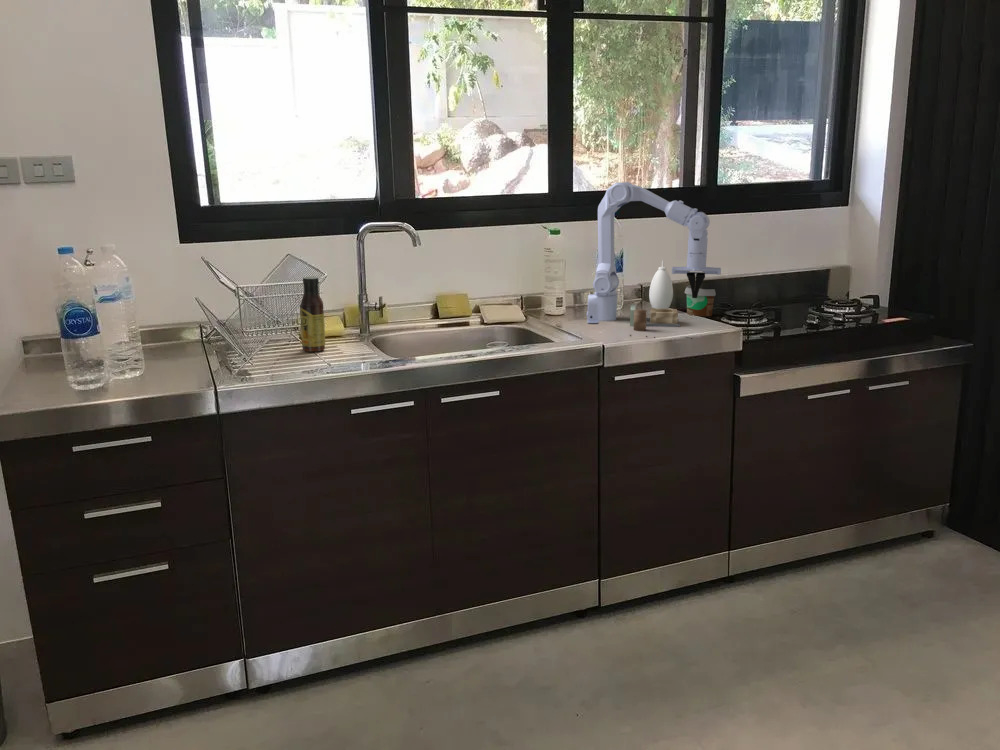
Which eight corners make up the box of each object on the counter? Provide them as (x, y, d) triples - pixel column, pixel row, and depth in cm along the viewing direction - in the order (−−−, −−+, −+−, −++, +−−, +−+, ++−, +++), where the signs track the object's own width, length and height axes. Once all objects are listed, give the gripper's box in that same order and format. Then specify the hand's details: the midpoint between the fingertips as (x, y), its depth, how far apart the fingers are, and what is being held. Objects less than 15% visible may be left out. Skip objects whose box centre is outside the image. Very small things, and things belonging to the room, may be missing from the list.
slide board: (629, 329, 254) (630, 310, 253) (630, 322, 266) (630, 304, 264) (679, 330, 252) (680, 311, 251) (677, 324, 264) (678, 305, 262)
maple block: (650, 325, 255) (651, 312, 254) (650, 320, 263) (650, 308, 262) (677, 326, 254) (677, 313, 253) (676, 321, 261) (676, 309, 260)
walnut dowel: (633, 334, 247) (634, 311, 245) (633, 332, 250) (634, 309, 248) (645, 334, 246) (646, 311, 244) (645, 332, 250) (646, 309, 248)
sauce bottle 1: (300, 349, 227) (296, 276, 222) (323, 347, 229) (320, 275, 224) (304, 353, 221) (299, 279, 216) (327, 352, 223) (323, 278, 218)
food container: (675, 315, 279) (677, 285, 277) (690, 314, 282) (692, 284, 279) (698, 321, 268) (700, 290, 266) (714, 319, 271) (716, 289, 268)
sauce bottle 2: (676, 312, 285) (679, 259, 281) (659, 314, 281) (661, 261, 277) (661, 309, 292) (663, 257, 287) (644, 311, 288) (646, 259, 283)
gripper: (673, 254, 249) (670, 299, 252) (722, 254, 247) (720, 300, 250) (672, 251, 256) (670, 295, 259) (720, 252, 253) (717, 296, 257)
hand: (694, 297), depth 255 cm, fingers closed
